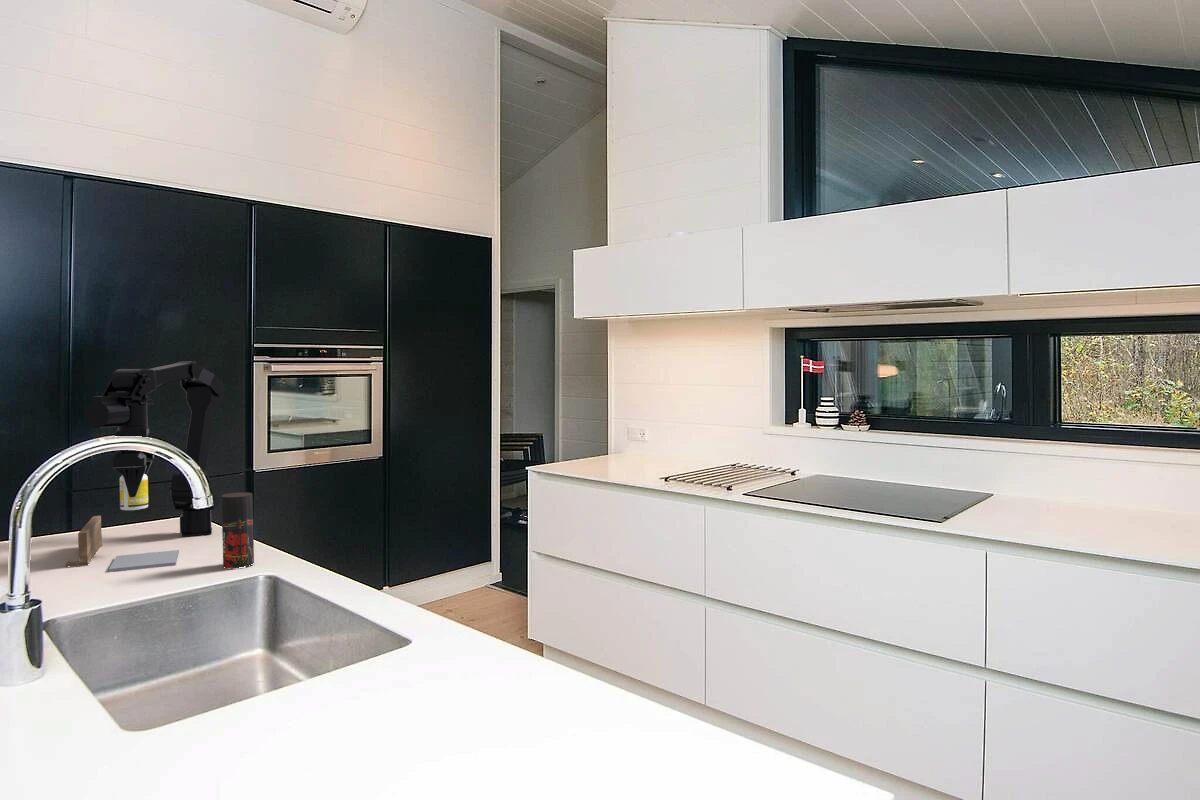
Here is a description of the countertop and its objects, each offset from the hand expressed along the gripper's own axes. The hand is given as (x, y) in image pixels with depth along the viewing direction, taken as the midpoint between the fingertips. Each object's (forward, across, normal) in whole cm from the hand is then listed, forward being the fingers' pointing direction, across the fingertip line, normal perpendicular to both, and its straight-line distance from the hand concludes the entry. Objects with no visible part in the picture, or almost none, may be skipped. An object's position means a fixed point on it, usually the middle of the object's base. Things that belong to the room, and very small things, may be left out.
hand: (134, 495), depth 170 cm
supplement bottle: (+3, 0, 0) cm, 3 cm away
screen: (+13, -3, -10) cm, 17 cm away
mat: (+13, +9, +3) cm, 16 cm away
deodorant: (+14, +20, +21) cm, 32 cm away
